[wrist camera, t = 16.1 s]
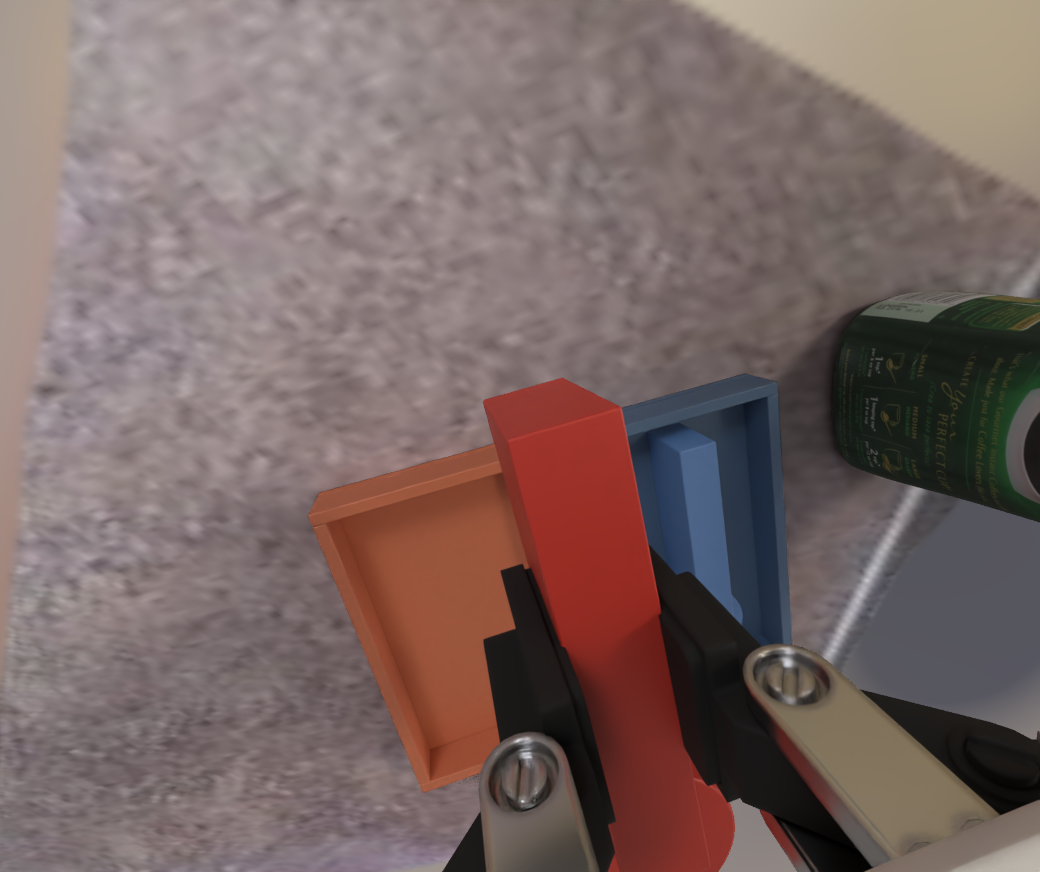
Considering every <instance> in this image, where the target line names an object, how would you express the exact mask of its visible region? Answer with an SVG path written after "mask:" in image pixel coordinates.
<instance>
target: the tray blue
mask: <svg viewBox="0 0 1040 872" xmlns="http://www.w3.org/2000/svg"><path fill="white" fill-rule="evenodd" d="M622 412H623V417H624V422H625V427H626V432H627V437H628V442H629V448H630V453H631V458H632V463H633V468H634V473H635V479H636V484H637V489H638V494H639V499H640V504H641V509H642V515H643V520H644V525H645V530H646V535H647V540H648V543H649V545H650V546H651V547H652V548H653V549H654V550H655V551H656V552H657V553H658V555H659V556H660V557H661V558H662V559H663V560H664V561H665V562H666V564H667V561H666V554H665V548H664V541H663V534H662V528H661V521H660V514H659V508H658V501H657V494H656V488H655V481H654V474H653V468H652V461H651V454H650V448H649V441H648V434H647V432H648V431H651V430H655V429H658V428H662V427H665V426H669V425H672V424H676V423H681V424H683V425H685V426H687V427H688V428H690V429H692V430H694V431H696V432H698V433H700V434H702V435H704V436H706V437H708V438H709V439H711V440H713V441H715V442H716V448H717V458H718V468H719V478H720V487H721V497H722V507H723V517H724V526H725V536H726V546H727V556H728V566H729V575H730V585H731V595H732V596H733V597H734V598H735V599H736V600H737V601H738V603H739V605H740V607H741V610H742V626H743V627H744V628H745V629H746V630H747V631H748V632H749V633H750V635H751V636H752V637H753V638H754V639H755V640H756V641H757V642H758V643H759V644H760V645H761V646H766V645H771V644H790V645H792V633H791V615H790V597H789V579H788V561H787V543H786V525H785V507H784V489H783V471H782V453H781V435H780V417H779V399H778V382H776V381H772V380H768V379H764V378H761V377H757V376H753V375H749V374H742V375H738V376H734V377H731V378H727V379H724V380H720V381H717V382H713V383H709V384H706V385H702V386H699V387H695V388H692V389H688V390H684V391H681V392H677V393H674V394H670V395H667V396H663V397H659V398H656V399H652V400H649V401H645V402H642V403H638V404H635V405H631V406H627V407H624V408H622Z"/></svg>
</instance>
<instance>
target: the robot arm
mask: <svg viewBox="0 0 1040 872" xmlns="http://www.w3.org/2000/svg"><path fill="white" fill-rule="evenodd" d="M648 545H649V543H648ZM649 551H650V556H651V561H652V566H653V571H654V576H655V582H656V587H657V592H658V597H659V602H660V607H661V614H660V615H658V616H659V621H660V626H661V632H662V637H663V642H664V647H665V652H666V657H667V662H668V667H669V673H670V678H671V683H672V688H673V693H674V698H675V703H676V709H677V714H678V719H679V724H680V729H681V734H682V739H683V744H684V748H685V750H686V751H687V753H688V755H689V757H690V758H691V760H692V762H693V764H694V765H695V767H696V769H697V771H698V772H699V774H700V776H701V778H702V779H703V781H704V782H705V784H706V785H707V786H711V785H713V784H716V785H717V787H718V788H719V790H720V792H721V793H722V795H723V797H724V798H725V800H726V802H727V803H728V802H731V801H733V800H736V799H738V798H741V800H742V802H744V803H746V804H748V805H751V806H753V807H756V808H758V809H760V812H761V814H762V817H763V819H764V821H765V823H766V825H767V826H768V828H769V829H770V831H771V832H772V834H773V835H774V837H775V838H776V840H777V841H778V843H779V844H780V846H781V847H782V849H783V850H784V852H785V853H786V855H787V856H788V858H789V860H790V861H791V863H792V864H793V866H794V867H795V868H796V870H797V872H1040V731H1038V733H1037V740H1032V739H1030V738H1028V737H1026V736H1024V735H1022V734H1020V733H1018V732H1016V731H1015V730H1012V729H1009V728H1006V727H1003V726H1000V725H997V724H994V723H991V722H987V721H983V720H979V719H975V718H971V717H967V716H963V715H960V714H955V713H952V712H947V711H944V710H939V709H936V708H932V707H928V706H924V705H920V704H915V703H912V702H908V701H904V700H900V699H896V698H891V697H888V696H884V695H880V694H876V693H872V692H868V691H864V690H860V689H858V688H857V687H856V686H855V685H854V684H853V683H852V682H851V681H849V680H848V679H847V678H846V677H845V676H844V675H843V674H842V673H841V672H839V671H838V670H837V669H836V668H835V667H834V666H833V665H832V664H831V663H829V662H828V661H827V660H825V659H824V658H823V657H821V656H820V655H818V654H817V653H815V652H813V651H810V650H808V649H806V648H803V647H800V646H795V645H790V644H771V645H766V646H761V645H760V644H759V643H758V642H757V641H756V640H755V639H754V638H753V637H752V636H751V635H750V633H749V632H748V631H747V630H746V629H745V628H744V627H743V626H742V625H741V624H740V623H739V622H738V621H737V620H736V619H735V618H734V617H733V616H732V615H731V614H730V612H729V611H728V610H727V609H726V608H725V607H724V606H723V605H722V604H721V603H720V602H719V601H718V600H717V599H716V598H715V597H714V596H713V595H712V594H711V593H710V591H709V590H708V589H707V588H706V587H705V586H704V585H703V584H702V583H701V582H700V581H699V580H698V579H697V578H696V577H695V576H694V575H693V574H692V573H691V572H687V571H686V572H683V573H680V574H677V575H676V574H675V573H674V571H673V570H672V569H671V568H670V567H669V566H668V565H667V564H666V562H665V561H664V560H663V559H662V558H661V557H660V556H659V555H658V553H657V552H656V551H655V550H654V549H653V548H652V547H651V546H650V545H649ZM500 572H501V576H502V580H503V583H504V587H505V591H506V594H507V598H508V602H509V606H510V609H511V613H512V617H513V620H514V624H515V629H512V630H509V631H506V632H503V633H500V634H497V635H494V636H491V637H488V638H485V639H483V643H484V650H485V656H486V662H487V668H488V674H489V680H490V686H491V692H492V698H493V704H494V710H495V716H496V722H497V728H498V734H499V740H500V744H499V745H498V746H496V747H495V748H494V749H493V750H492V752H491V753H490V754H489V756H488V757H487V759H486V760H485V762H484V764H483V767H482V770H481V773H480V776H479V799H480V809H481V811H480V813H479V814H478V816H477V818H476V819H475V821H474V822H473V824H472V826H471V827H470V829H469V830H468V832H467V833H466V835H465V837H464V838H463V840H462V841H461V843H460V845H459V846H458V848H457V849H456V851H455V852H454V854H453V856H452V857H451V859H450V860H449V862H448V864H447V865H446V867H445V869H444V870H443V871H442V872H608V870H609V867H610V865H611V862H612V859H613V857H614V854H615V850H614V846H613V842H612V838H611V834H610V831H609V827H608V825H610V824H612V823H615V822H616V818H615V814H614V810H613V806H612V802H611V799H610V795H609V791H608V787H607V783H606V779H605V775H604V771H603V767H602V763H601V759H600V755H599V752H598V748H597V744H596V740H595V736H594V732H593V728H592V724H591V720H590V716H589V712H588V709H587V705H586V702H585V698H584V695H583V692H582V689H581V686H580V684H579V681H578V678H577V676H576V673H575V671H574V668H573V666H572V663H571V661H570V658H569V656H568V653H567V651H566V648H565V647H562V646H561V645H560V642H559V639H558V637H557V634H556V632H555V629H554V626H553V624H552V621H551V619H550V616H549V613H548V611H547V608H546V606H545V603H544V600H543V598H542V595H541V593H540V590H539V587H538V585H537V582H536V580H535V577H534V574H533V572H532V569H531V568H528V569H524V566H523V564H519V565H516V566H513V567H510V568H507V569H503V570H500Z"/></svg>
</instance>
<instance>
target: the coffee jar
mask: <svg viewBox="0 0 1040 872" xmlns="http://www.w3.org/2000/svg"><path fill="white" fill-rule="evenodd" d="M832 410H833V429H834V438H835V443H836V446H837V449H838V451H839V452H840V454H841V456H842V457H843V458H844V459H845V460H846V461H847V462H848V463H849V464H850V465H852V466H854V467H856V468H858V469H861V470H863V471H866V472H869V473H872V474H875V475H878V476H881V477H884V478H887V479H891V480H894V481H897V482H901V483H904V484H908V485H912V486H915V487H919V488H923V489H926V490H930V491H934V492H938V493H941V494H945V495H949V496H952V497H956V498H960V499H963V500H967V501H971V502H974V503H977V504H981V505H984V506H988V507H991V508H994V509H997V510H1001V511H1004V512H1007V513H1011V514H1014V515H1017V516H1021V517H1024V518H1027V519H1030V520H1034V521H1037V522H1040V299H1031V298H1022V297H1013V296H1003V295H993V294H982V293H969V292H948V291H946V292H916V293H908V294H903V295H898V296H895V297H891V298H888V299H885V300H882V301H880V302H877V303H875V304H873V305H871V306H870V307H868V308H866V309H865V310H863V311H862V312H861V313H860V314H859V315H858V316H857V317H856V318H855V319H853V321H852V322H851V323H850V324H849V325H848V327H847V328H846V329H845V331H844V333H843V335H842V337H841V340H840V343H839V347H838V351H837V357H836V364H835V373H834V379H833V409H832Z"/></svg>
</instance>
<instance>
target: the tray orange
mask: <svg viewBox="0 0 1040 872" xmlns="http://www.w3.org/2000/svg"><path fill="white" fill-rule="evenodd" d="M308 517H309V520H310V522H311V525H312V526H313V529H314V532H315V534H316V537H317V539H318V541H319V544H320V546H321V549H322V551H323V554H324V556H325V558H326V561H327V563H328V566H329V568H330V570H331V573H332V575H333V578H334V580H335V582H336V585H337V587H338V590H339V592H340V594H341V597H342V599H343V602H344V604H345V606H346V609H347V611H348V614H349V616H350V618H351V621H352V623H353V626H354V628H355V631H356V633H357V635H358V638H359V640H360V643H361V645H362V647H363V650H364V652H365V655H366V657H367V659H368V662H369V664H370V667H371V669H372V671H373V674H374V676H375V679H376V681H377V683H378V686H379V688H380V691H381V693H382V696H383V698H384V700H385V703H386V705H387V708H388V710H389V712H390V715H391V717H392V720H393V722H394V724H395V727H396V729H397V732H398V734H399V736H400V739H401V741H402V744H403V746H404V748H405V751H406V753H407V756H408V758H409V760H410V763H411V765H412V768H413V770H414V773H415V775H416V777H417V780H418V782H419V784H420V787H421V789H422V792H423V793H425V792H428V791H430V790H433V789H436V788H439V787H442V786H444V785H447V784H450V783H453V782H456V781H459V780H461V779H464V778H467V777H470V776H473V775H476V774H478V773H481V770H482V767H483V764H484V762H485V760H486V759H487V757H488V756H489V754H490V753H491V752H492V750H493V749H494V748H495V747H496V746H498V745H499V744H500V740H499V734H498V728H497V722H496V716H495V710H494V704H493V698H492V692H491V686H490V680H489V674H488V668H487V662H486V656H485V650H484V643H483V639H485V638H488V637H491V636H494V635H497V634H500V633H503V632H506V631H509V630H512V629H515V624H514V620H513V617H512V613H511V609H510V606H509V602H508V598H507V594H506V591H505V587H504V583H503V580H502V576H501V572H500V570H503V569H507V568H510V567H513V566H516V565H519V564H523V566H524V569H528V568H529V566H528V563H527V559H526V556H525V552H524V548H523V545H522V541H521V538H520V534H519V530H518V527H517V523H516V520H515V516H514V512H513V509H512V505H511V501H510V498H509V494H508V491H507V487H506V483H505V480H504V476H503V473H502V469H501V465H500V462H499V458H498V455H497V451H496V447H495V444H492V445H488V446H485V447H481V448H478V449H474V450H471V451H467V452H463V453H460V454H456V455H453V456H449V457H446V458H442V459H438V460H435V461H431V462H428V463H424V464H421V465H417V466H413V467H410V468H406V469H403V470H399V471H396V472H392V473H388V474H385V475H381V476H378V477H374V478H371V479H367V480H364V481H360V482H356V483H353V484H349V485H346V486H342V487H339V488H335V489H331V490H328V491H324V492H321V493H319V495H318V497H317V499H316V501H315V503H314V505H313V507H312V509H311V511H310V513H309V514H308Z"/></svg>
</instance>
